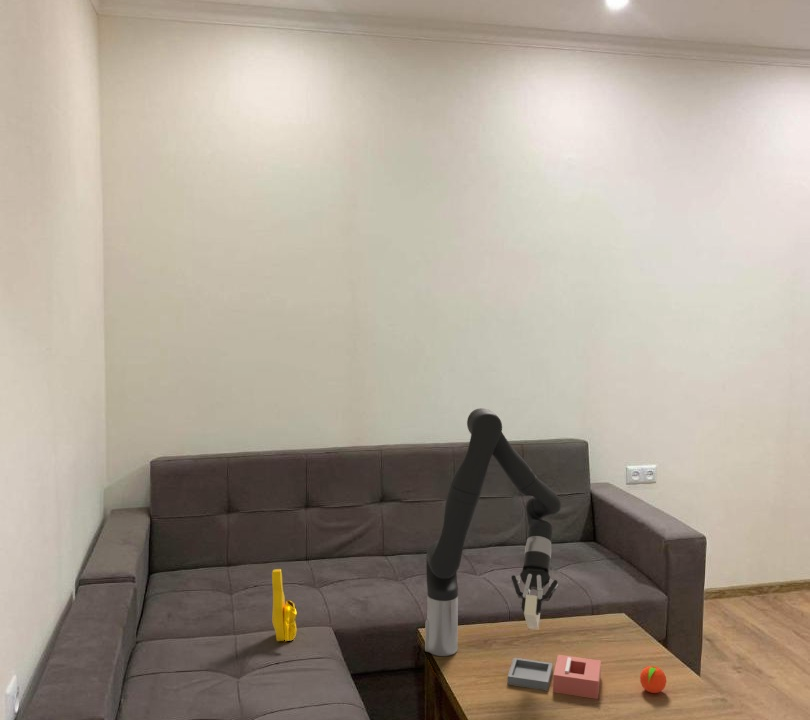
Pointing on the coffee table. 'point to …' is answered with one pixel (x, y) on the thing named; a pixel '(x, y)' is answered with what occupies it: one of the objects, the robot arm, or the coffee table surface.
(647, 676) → the clementine
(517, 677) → the tray
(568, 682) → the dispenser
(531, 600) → the tall beige block
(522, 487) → the robot arm
